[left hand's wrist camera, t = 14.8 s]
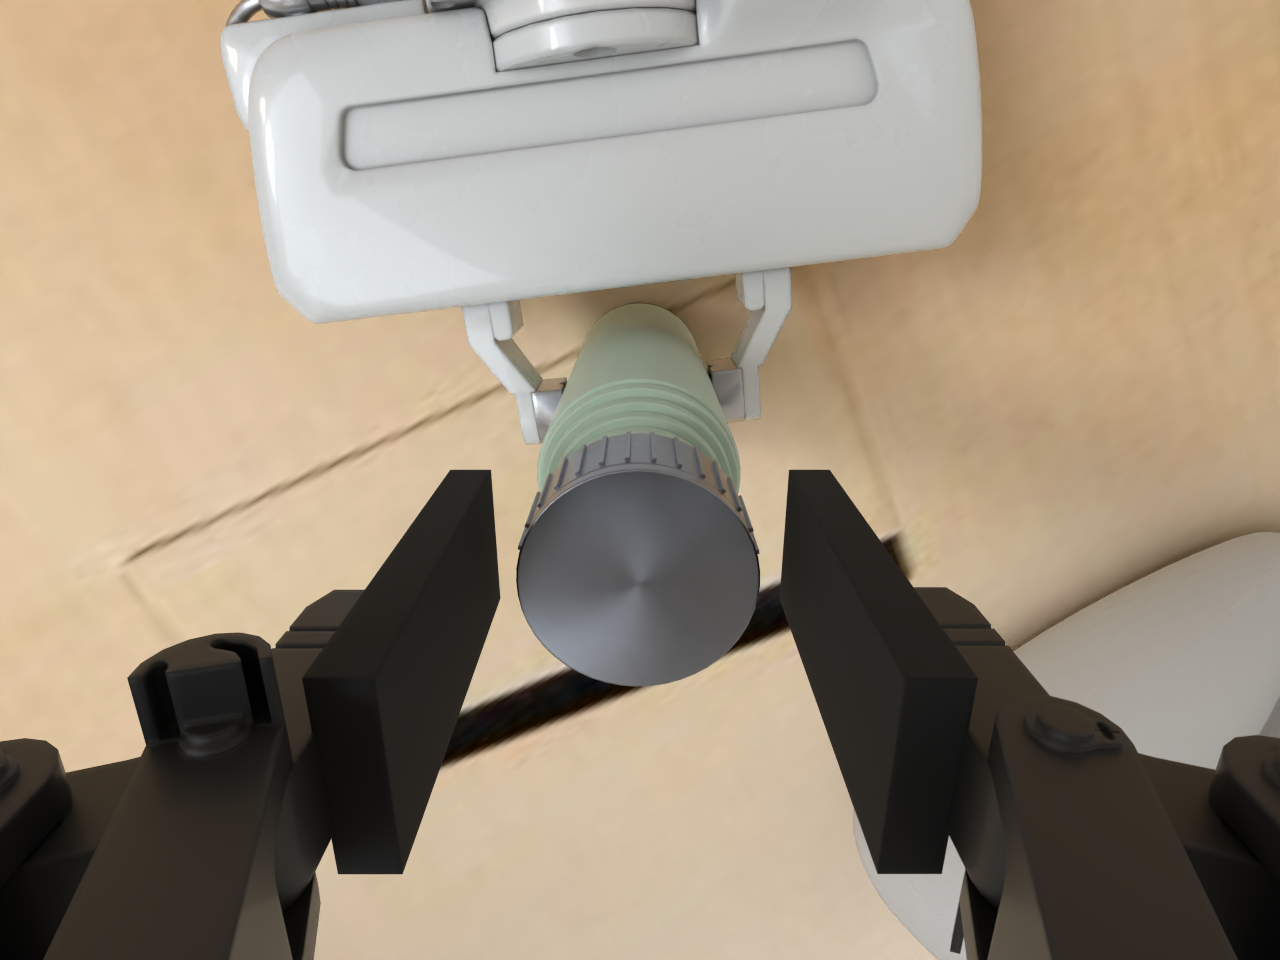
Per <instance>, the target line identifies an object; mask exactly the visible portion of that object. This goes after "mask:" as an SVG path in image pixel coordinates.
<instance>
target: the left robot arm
mask: <svg viewBox="0 0 1280 960" xmlns="http://www.w3.org/2000/svg"><path fill="white" fill-rule="evenodd" d="M499 600H500V588H499V574H498V561H497V547H496V534H495V520H494V506H493V493H492V479H491V470H450V471H449V473H448V474H447V475H446V477H445V478H444V480H443V481H442V482H441V484H440V485H439V487H438V488H437V489H436V491H435V492H434V494H433V495H432V496H431V498H430V499H429V501H428V502H427V503H426V505H425V506H424V508H423V509H422V510H421V512H420V513H419V515H418V516H417V518H416V519H415V520H414V522H413V523H412V525H411V526H410V527H409V529H408V530H407V532H406V533H405V534H404V536H403V537H402V539H401V540H400V541H399V543H398V544H397V546H396V547H395V548H394V550H393V551H392V553H391V554H390V555H389V557H388V558H387V560H386V561H385V562H384V564H383V565H382V567H381V568H380V569H379V571H378V572H377V574H376V575H375V576H374V578H373V579H372V581H371V582H370V583H369V585H368V586H367V588H366V589H365V590H333V591H332V592H330V593H328V594H327V595H325V596H324V597H322V598H320V599H319V600H317V601H316V602H314V603H312V604H311V605H309V606H307V607H306V608H305V609H304V611H303V612H302V613H301V614H300V615H299V617H298V618H297V619H296V620H295V621H294V623H293V624H292V625H291V626H290V630H289V631H286V632H285V634H284V635H283V636H282V637H281V638H280V640H279V641H278V642H277V643H276V648H272V649H271V646H270V644H269V643H267V642H266V641H265V640H263V639H262V638H261V637H259V636H255V635H250V634H245V633H221V634H213V635H208V636H203V637H199V638H194V639H190V640H187V641H184V642H182V643H179V644H177V645H174V646H172V647H169V648H166V649H164V650H162V651H160V652H159V653H157V654H155V655H154V656H152V657H150V658H149V659H147V660H146V661H144V662H142V663H141V664H140V665H139V666H138V667H137V668H136V669H135V670H134V671H133V673H132V674H131V675H130V676H129V677H128V682H129V685H130V689H131V693H132V696H133V700H134V703H135V707H136V710H137V714H138V717H139V721H140V725H141V728H142V732H143V735H144V739H145V742H146V747H145V749H144V751H143V753H142V755H141V757H138V758H134V759H130V760H126V761H121V762H116V763H111V764H106V765H102V766H97V767H92V768H87V769H82V770H77V771H72V772H68V773H65V770H64V767H63V764H62V761H61V758H60V755H59V752H58V749H56V748H55V747H54V746H52V745H51V744H50V743H48V742H47V741H43V740H35V739H26V738H23V739H16V740H9V741H2V742H0V960H314V952H315V944H316V936H317V927H318V919H319V911H320V895H319V888H318V883H317V878H316V873H315V871H316V869H317V867H318V864H319V862H320V860H321V858H322V856H323V854H324V852H325V850H326V848H327V846H328V844H329V842H330V840H331V838H332V844H333V849H334V854H335V860H336V865H337V871H338V874H403V871H404V868H405V866H406V863H407V860H408V857H409V854H410V851H411V849H412V846H413V843H414V840H415V837H416V835H417V832H418V829H419V826H420V823H421V820H422V818H423V815H424V812H425V809H426V806H427V803H428V801H429V798H430V795H431V792H432V789H433V787H434V784H435V781H436V778H437V775H438V772H439V770H440V767H441V764H442V761H443V758H444V756H445V753H446V750H447V747H448V744H449V741H450V739H451V736H452V733H453V730H454V727H455V725H456V722H457V719H458V716H459V713H460V710H461V708H462V705H463V702H464V699H465V696H466V694H467V691H468V688H469V685H470V682H471V679H472V677H473V674H474V671H475V668H476V665H477V662H478V660H479V657H480V654H481V651H482V648H483V646H484V643H485V640H486V637H487V634H488V631H489V629H490V626H491V623H492V620H493V617H494V615H495V612H496V609H497V606H498V603H499ZM780 600H781V603H782V606H783V609H784V612H785V615H786V617H787V620H788V623H789V626H790V629H791V631H792V634H793V637H794V640H795V643H796V646H797V648H798V651H799V654H800V657H801V660H802V662H803V665H804V668H805V671H806V674H807V677H808V679H809V682H810V685H811V688H812V691H813V693H814V696H815V699H816V702H817V705H818V708H819V710H820V713H821V716H822V719H823V722H824V725H825V727H826V730H827V733H828V736H829V739H830V741H831V744H832V747H833V750H834V753H835V756H836V758H837V761H838V764H839V767H840V770H841V772H842V775H843V778H844V781H845V784H846V787H847V789H848V792H849V795H850V798H851V801H852V803H853V806H854V809H855V812H856V815H857V818H858V820H859V823H860V826H861V829H862V832H863V834H864V837H865V840H866V843H867V846H868V849H869V851H870V854H871V857H872V860H873V863H874V866H875V868H876V871H877V874H942V871H943V865H944V860H945V854H946V849H947V844H948V838H949V836H950V838H951V840H952V842H953V844H954V846H955V848H956V850H957V852H958V854H959V856H960V858H961V861H962V863H963V865H964V867H965V873H964V878H963V883H962V888H961V893H960V898H959V903H958V908H957V913H956V918H955V923H954V928H953V933H952V939H951V946H950V952H954V953H958V954H960V953H961V948H962V943H963V938H964V942H965V950H966V958H967V960H1280V738H1275V737H1268V736H1261V735H1251V736H1243V737H1235V738H1234V739H1232V740H1231V741H1230V742H1228V743H1227V744H1225V745H1224V746H1223V749H1222V752H1221V755H1220V758H1219V761H1218V764H1217V767H1216V770H1215V769H1210V768H1205V767H1200V766H1195V765H1190V764H1185V763H1180V762H1176V761H1171V760H1166V759H1161V758H1156V757H1152V756H1148V755H1144V754H1140V753H1138V752H1137V750H1136V748H1135V746H1134V744H1133V743H1132V741H1131V740H1130V739H1129V738H1128V736H1127V735H1126V734H1125V732H1124V731H1123V730H1122V729H1121V728H1120V727H1119V726H1117V725H1116V724H1115V723H1113V722H1112V721H1110V720H1109V719H1108V718H1106V717H1105V716H1103V715H1102V714H1101V713H1099V712H1096V711H1094V710H1092V709H1090V708H1087V707H1085V706H1083V705H1081V704H1079V703H1076V702H1073V701H1069V700H1065V699H1061V698H1057V697H1053V696H1050V695H1049V694H1048V693H1047V691H1046V690H1045V689H1044V688H1043V687H1042V685H1041V684H1040V683H1039V682H1038V681H1037V679H1036V678H1035V677H1034V676H1033V675H1032V673H1031V672H1030V671H1029V670H1028V669H1027V667H1026V666H1025V665H1024V664H1023V663H1022V661H1021V660H1020V659H1019V658H1018V657H1017V655H1016V654H1015V653H1014V652H1013V651H1012V649H1011V648H1010V647H1009V646H1005V641H1004V640H1003V639H1002V638H1001V636H1000V635H999V634H998V633H997V632H996V630H995V629H991V624H990V623H989V622H988V621H987V620H986V618H985V617H984V616H983V615H982V614H981V612H980V611H979V610H978V609H977V608H976V606H975V605H974V604H972V603H971V602H969V601H967V600H966V599H964V598H962V597H961V596H959V595H958V594H956V593H954V592H953V591H951V590H949V589H948V588H946V587H913V586H912V585H911V583H910V582H909V581H908V579H907V578H906V576H905V575H904V574H903V572H902V571H901V569H900V568H899V567H898V565H897V564H896V562H895V561H894V560H893V558H892V557H891V555H890V554H889V553H888V551H887V550H886V548H885V547H884V546H883V544H882V543H881V541H880V540H879V539H878V537H877V536H876V534H875V533H874V532H873V530H872V529H871V527H870V526H869V525H868V523H867V522H866V520H865V519H864V517H863V516H862V515H861V513H860V512H859V510H858V509H857V508H856V506H855V505H854V503H853V502H852V501H851V499H850V498H849V496H848V495H847V494H846V492H845V491H844V489H843V488H842V487H841V485H840V484H839V482H838V481H837V480H836V478H835V477H834V475H833V474H832V473H831V471H830V470H789V479H788V493H787V506H786V520H785V534H784V547H783V561H782V575H781V588H780Z"/></svg>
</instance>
